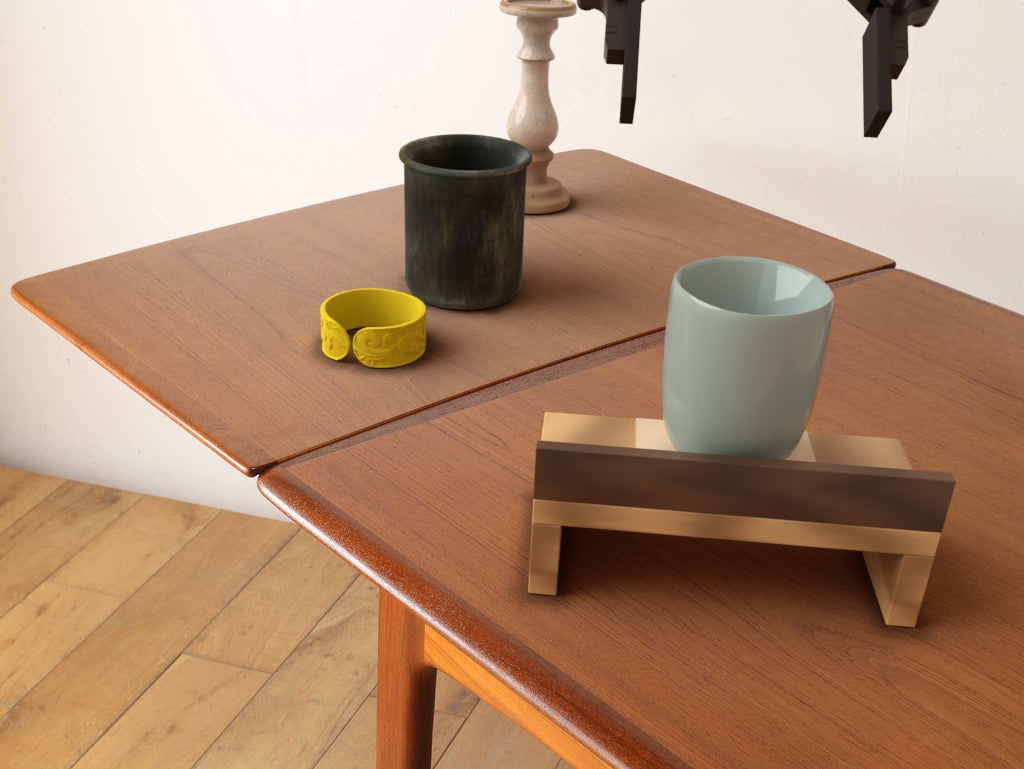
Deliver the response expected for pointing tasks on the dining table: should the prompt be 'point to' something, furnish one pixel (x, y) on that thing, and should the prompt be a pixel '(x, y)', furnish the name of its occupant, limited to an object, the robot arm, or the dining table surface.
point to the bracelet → (374, 345)
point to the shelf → (741, 499)
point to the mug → (464, 219)
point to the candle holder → (537, 99)
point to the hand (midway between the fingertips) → (751, 118)
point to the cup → (743, 355)
